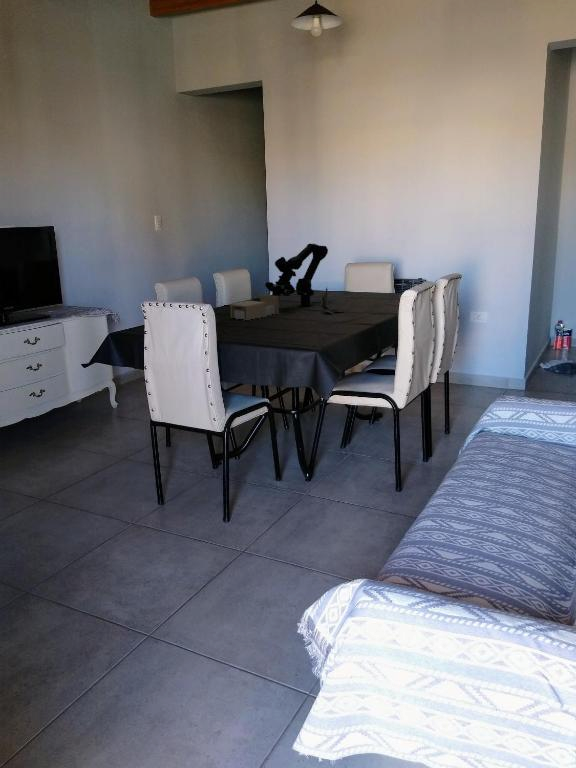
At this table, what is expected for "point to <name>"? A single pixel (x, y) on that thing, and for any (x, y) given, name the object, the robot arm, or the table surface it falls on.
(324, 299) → the butterfly
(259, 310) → the sleeve
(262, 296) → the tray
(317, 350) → the table surface
